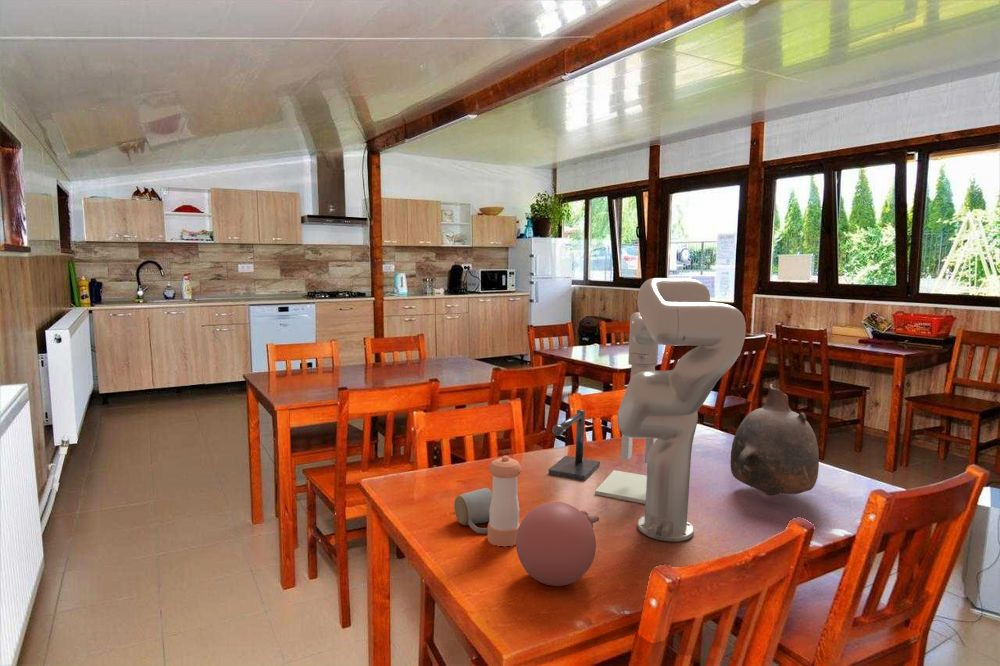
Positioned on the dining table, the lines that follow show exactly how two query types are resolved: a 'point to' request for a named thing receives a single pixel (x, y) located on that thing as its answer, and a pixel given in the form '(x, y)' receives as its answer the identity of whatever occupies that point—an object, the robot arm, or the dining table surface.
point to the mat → (624, 486)
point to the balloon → (556, 543)
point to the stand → (577, 464)
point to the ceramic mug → (474, 508)
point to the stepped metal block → (627, 447)
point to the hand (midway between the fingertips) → (639, 425)
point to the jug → (775, 449)
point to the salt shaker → (504, 502)
